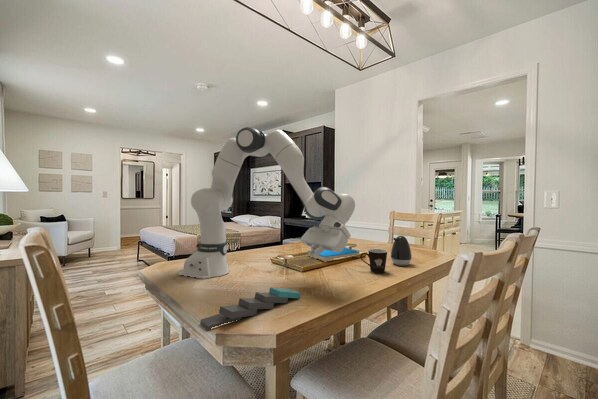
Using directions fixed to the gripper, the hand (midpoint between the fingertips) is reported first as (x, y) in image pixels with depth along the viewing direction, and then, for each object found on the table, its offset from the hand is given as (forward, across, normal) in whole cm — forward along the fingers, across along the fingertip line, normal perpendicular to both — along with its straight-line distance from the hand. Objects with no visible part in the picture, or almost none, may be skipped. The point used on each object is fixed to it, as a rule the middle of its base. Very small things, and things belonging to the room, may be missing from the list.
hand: (312, 256), depth 102 cm
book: (-24, -33, +44) cm, 60 cm away
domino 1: (+32, 0, -13) cm, 34 cm away
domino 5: (+14, -1, +3) cm, 15 cm away
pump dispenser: (-35, +1, +54) cm, 64 cm away
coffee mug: (-20, -1, +39) cm, 44 cm away
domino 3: (+23, 0, -5) cm, 24 cm away
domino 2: (+28, +1, -10) cm, 30 cm away
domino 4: (+19, 0, -1) cm, 19 cm away
